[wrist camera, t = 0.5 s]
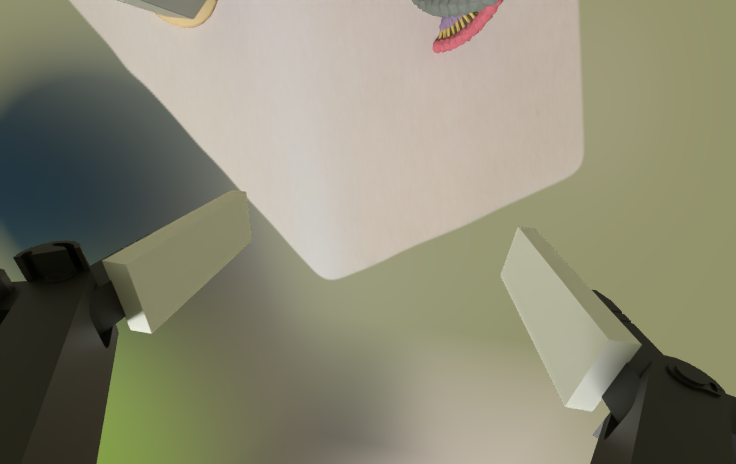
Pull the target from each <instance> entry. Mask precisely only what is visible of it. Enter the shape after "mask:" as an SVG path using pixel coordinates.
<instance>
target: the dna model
mask: <svg viewBox="0 0 736 464" xmlns="http://www.w3.org/2000/svg"><path fill="white" fill-rule="evenodd" d="M412 1H413V3H414V5H417V6H418V8H419V9H422V11H425V12H426V13H429V14H431V15H433V16H440V17H442V20H441V24H440V34H439V38H438V40H436V41H435V42H434V43H433V50H434V51H435V52H436V53H439V52H445V51H447V50H449V51H451V50H452V49H454V48H457V47H458V46H459V45H462V44H464V43H465V42H466V41H470V39H471V37H472V36H475V35H476V34H477V33H478V32H479V31H480V30H482V28H483V27H484V25H485V24H486V23H487V22H488V21H489V20H490V19H491V18H492V15H493V14H495V13H496V11H497V8H498V6H499V5H501V3H502V2H503V0H412ZM477 11H478V15H476V16H475V14H474V13H473V12H477ZM468 14H470V16H471V17H472V18H473V21H470V20H469V18H468V16H467V15H468ZM462 16H463V17H464V18H465V20H466V21H467V22H468V25H467V27H465V25H464V23H463V20H462ZM458 19H459V21H460V23H461V26H462V28H463V29H462V30H461V31H460V27H459V24H458ZM454 24H455V25H456V29H457V34H455V30H454ZM450 27H451V29H452V32H453V35H452V36H451V37H450ZM442 33H443V39H441V37H442ZM446 33H447V38H446Z"/></svg>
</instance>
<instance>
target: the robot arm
mask: <svg viewBox="0 0 736 464" xmlns="http://www.w3.org/2000/svg"><path fill="white" fill-rule="evenodd" d="M251 241H252V236H251V228H250V220H249V212H248V204H247V195H246V192H242V191H234V190H231V191H229V192H228V193H225V194H224V195H222V196H220V197H218V198H216V199H215V200H213V201H211V202H209V203H207V204H205V205H203V206H202V207H200V208H198V209H196V210H194V211H193V212H191V213H189V214H187V215H185V216H183V217H181V218H180V219H178V220H176V221H174V222H172V223H171V224H169V225H167V226H165V227H163V228H161V229H160V230H158V231H156V232H154V233H151V234H148V235H146V236H144V237H143V238H141V239H139V240H137V241H136V242H135V243H131V244H130V245H128V246H126V248H122V249H120V250H119V251H117V252H115V253H113V254H111V255H109V256H107V257H106V258H104V259H102V260H100V261H98V262H97V263H94V264H93V265H91V266H89V263H88V261H87V259H86V257H85V254H84V252H83V250H82V248H81V245H80V244H79V243H77V242H75V241H56V242H51V243H45V244H41V245H38V246H35V247H31V248H29V249H26V250H24V251H22V252H20V253H18V254H17V255H16V256H15V257H14V260H15V261H16V263H17V265H18V267H19V268H20V270H21V272H22V273H23V275H24V277H25V279H26V280H27V281H21V282H11V280H10V278H9V277H8V276H7V274H6V272H5V270H3V269H0V464H96V463H97V457H98V451H99V445H100V439H101V433H102V427H103V421H104V415H105V410H106V404H107V398H108V392H109V385H110V380H111V374H112V368H113V362H114V357H115V351H116V344H117V339H118V329H117V326H116V323H117V322H119V321H120V320H121V319H122V318H124V317H126V319H127V322H128V325H129V327H130V329H131V330H134V331H140V332H146V333H151V334H152V333H153V332H154V331H155V330H156V329H157V328H158V327H160V326H161V324H163V323H164V322H165V321H166V320H167V319H168V318H169V317H170V316H171V315H172V314H174V313H175V312H176V311H177V310H178V309H179V308H180V307H181V306H182V305H183V304H184V303H185V302H186V301H187V300H188V299H190V298H191V297H192V296H193V295H194V294H195V293H196V292H197V291H198V290H199V289H200V288H201V287H202V286H204V285H205V284H206V283H207V282H208V281H209V280H210V279H211V278H212V277H213V276H214V275H215V274H216V273H218V271H220V270H221V269H222V268H223V267H224V266H225V265H226V264H227V263H228V262H229V261H230V260H232V258H234V257H235V256H236V255H237V254H238V253H239V252H240V251H241V250H242V249H243V248H244V247H245V246H247V245H248V244H249V243H250V242H251ZM500 276H501V278H502V280H503V282H504V284H505V286H506V288H507V290H508V292H509V294H510V296H511V298H512V300H513V302H514V304H515V306H516V309H517V311H518V313H519V315H520V317H521V318H522V321H523V323H524V325H525V327H526V329H527V331H528V333H529V335H530V337H531V339H532V341H533V343H534V345H535V347H536V349H537V351H538V353H539V355H540V357H541V359H542V361H543V364H544V365H545V367H546V369H547V371H548V374H549V376H550V378H551V380H552V382H553V384H554V386H555V388H556V390H557V392H558V394H559V396H560V398H561V400H562V402H563V404H564V406H565V407H569V408H575V409H580V410H586V411H593V410H594V409H595V407H596V406H597V404H598V403H599V402H600V400H601V399H602V398H603V400H604V402H605V403H606V405H607V406H608V408H609V410H610V411H611V412H610V413H609V415H608V416H607V417H606V418H605V420H604V421H603V422H602V423H601V425H600V426H599V427H598V428H597V430H596V431H595V432H594V433H593V436H595V437H596V438H598V437H599V438H598V442H597V445H596V448H595V451H594V454H593V457H592V460H591V463H590V464H736V397H734V396H731V395H728V394H726V393H725V391H724V390H723V389H722V387H720V385H719V384H718V383H717V382H716V381H715V380H713V379H712V378H711V377H710V376H708V375H707V374H706V373H704V372H703V371H701V370H699V369H697V368H696V367H694V366H692V365H691V364H689V363H686V362H684V361H682V360H679V359H677V358H673V357H669V356H665V355H663V354H662V353H661V352H660V351H659V350H658V349H657V348H656V347H655V346H654V345H653V344H652V343H651V342H650V340H649V339H647V338H646V336H644V334H643V333H642V332H641V331H640V330H639V329H638V328H637V327H636V326H635V325H634V324H632V323H631V321H630V320H629V319H628V318H627V317H626V316H625V315H624V314H622V312H621V310H620V309H619V308H618V307H617V306H616V305H615V304H614V303H613V302H612V301H611V300H609V299H608V298H606V297H605V296H604V295H602V294H601V293H599V292H598V291H596V290H591V289H590V288H589V287H588V286H587V285H586V283H585V282H584V281H583V280H582V279H581V278H580V277H579V276H578V275H577V274H576V272H575V271H574V270H573V269H572V268H571V267H570V266H569V265H568V264H567V263H566V262H565V261H564V260H563V258H562V257H561V256H560V255H559V254H558V253H557V252H556V251H555V250H554V248H553V247H552V246H551V245H550V244H549V243H548V242H547V241H546V240H545V239H544V238H543V237H542V235H541V234H540V233H539V232H538V231H537V230H536V229H534V228H526V227H518V228H517V231H516V234H515V237H514V239H513V242H512V245H511V247H510V250H509V253H508V256H507V259H506V261H505V264H504V267H503V270H502V272H501V275H500Z"/></svg>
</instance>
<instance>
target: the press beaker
mask: <svg viewBox="0 0 736 464" xmlns="http://www.w3.org/2000/svg"><path fill="white" fill-rule="evenodd" d="M118 1H121V2H124V3H127V4H130V5H133V6H136V7H139V8H142V9H145V10H148V11H151V12H154V13H155V14H156V15H158V16H159V17H160V18H161V19H163V20H164V21H166V22H168V23H170V24H173V25H175V26H179V27H184V28H191V27H196V26H199V25H201V24H202V23H204V22H205V21H206V20H207V19H208V18H209V17H210V16H211V14H212V12H213V11H214V8H215V6H216V3H217V0H118Z"/></svg>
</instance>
